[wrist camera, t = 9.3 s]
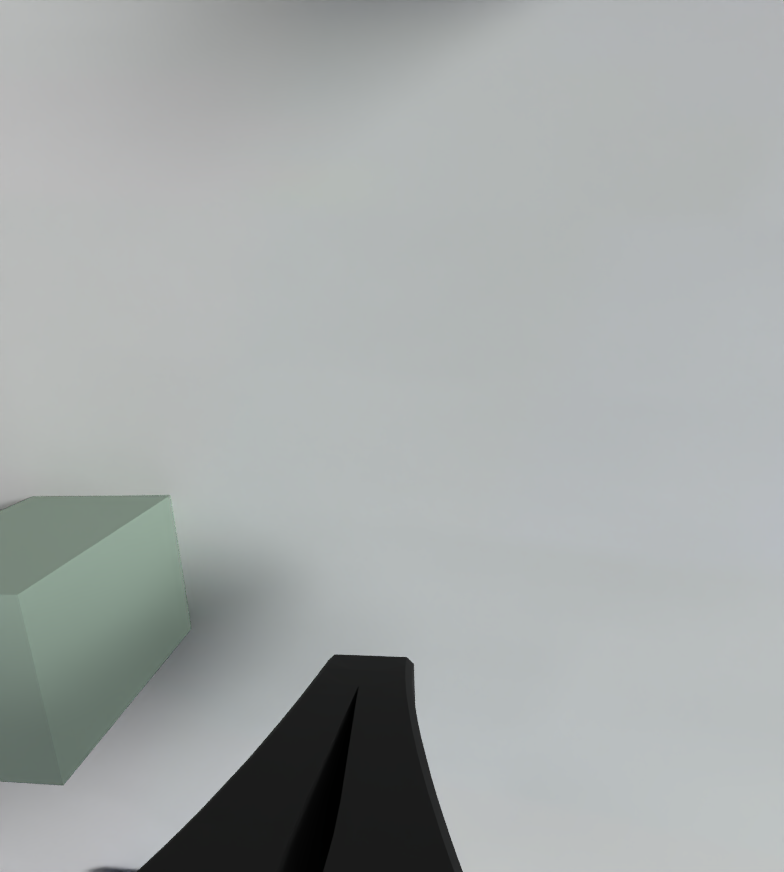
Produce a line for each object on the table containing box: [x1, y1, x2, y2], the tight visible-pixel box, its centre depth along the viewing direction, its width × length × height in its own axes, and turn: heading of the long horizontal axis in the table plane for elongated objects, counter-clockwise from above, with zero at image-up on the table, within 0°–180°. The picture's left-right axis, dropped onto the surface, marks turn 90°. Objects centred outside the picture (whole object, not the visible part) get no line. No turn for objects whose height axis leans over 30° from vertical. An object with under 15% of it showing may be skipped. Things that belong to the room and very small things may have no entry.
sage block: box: [0, 495, 191, 785], centre depth 12 cm, size 4×4×5 cm
